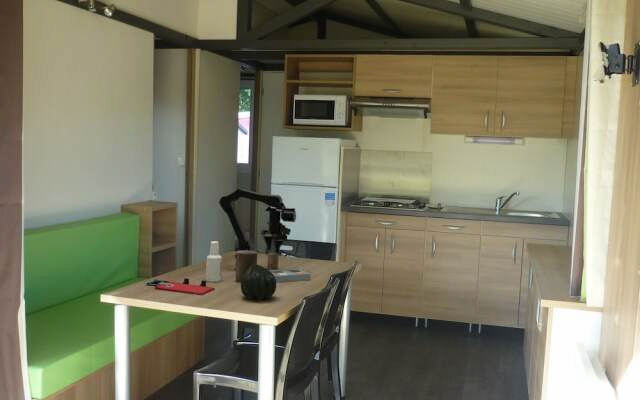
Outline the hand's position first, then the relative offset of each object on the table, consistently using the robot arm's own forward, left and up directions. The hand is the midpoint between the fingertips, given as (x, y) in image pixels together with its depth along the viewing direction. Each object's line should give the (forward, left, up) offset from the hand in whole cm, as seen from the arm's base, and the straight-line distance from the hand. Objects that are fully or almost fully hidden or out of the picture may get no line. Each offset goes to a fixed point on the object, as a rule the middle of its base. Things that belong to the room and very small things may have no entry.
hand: (273, 251), depth 294 cm
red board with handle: (-51, -16, -12) cm, 55 cm away
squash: (-26, -43, -11) cm, 51 cm away
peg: (0, 0, -11) cm, 11 cm away
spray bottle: (-33, -7, -11) cm, 35 cm away
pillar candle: (-19, -12, -11) cm, 25 cm away
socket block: (+2, -13, -11) cm, 17 cm away
